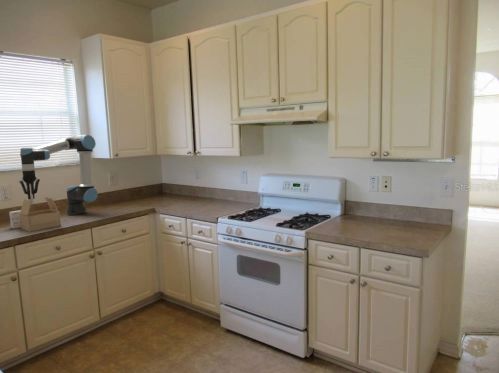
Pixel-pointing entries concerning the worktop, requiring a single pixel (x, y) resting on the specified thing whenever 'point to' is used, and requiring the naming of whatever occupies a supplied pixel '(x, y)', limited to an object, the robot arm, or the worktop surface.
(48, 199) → the flap
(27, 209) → the flap
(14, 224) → the ink box
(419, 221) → the worktop surface
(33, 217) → the carton
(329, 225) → the worktop surface
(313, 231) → the worktop surface
